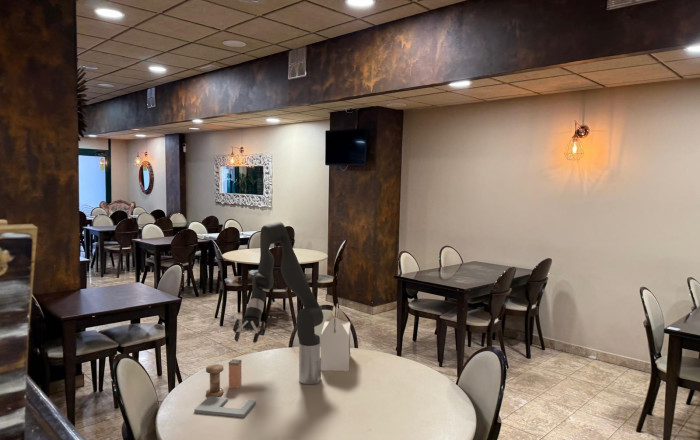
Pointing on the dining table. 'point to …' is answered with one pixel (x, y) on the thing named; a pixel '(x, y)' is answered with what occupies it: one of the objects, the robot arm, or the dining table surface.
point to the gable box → (335, 342)
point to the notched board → (215, 407)
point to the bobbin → (214, 380)
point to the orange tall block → (235, 373)
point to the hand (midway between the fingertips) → (245, 341)
